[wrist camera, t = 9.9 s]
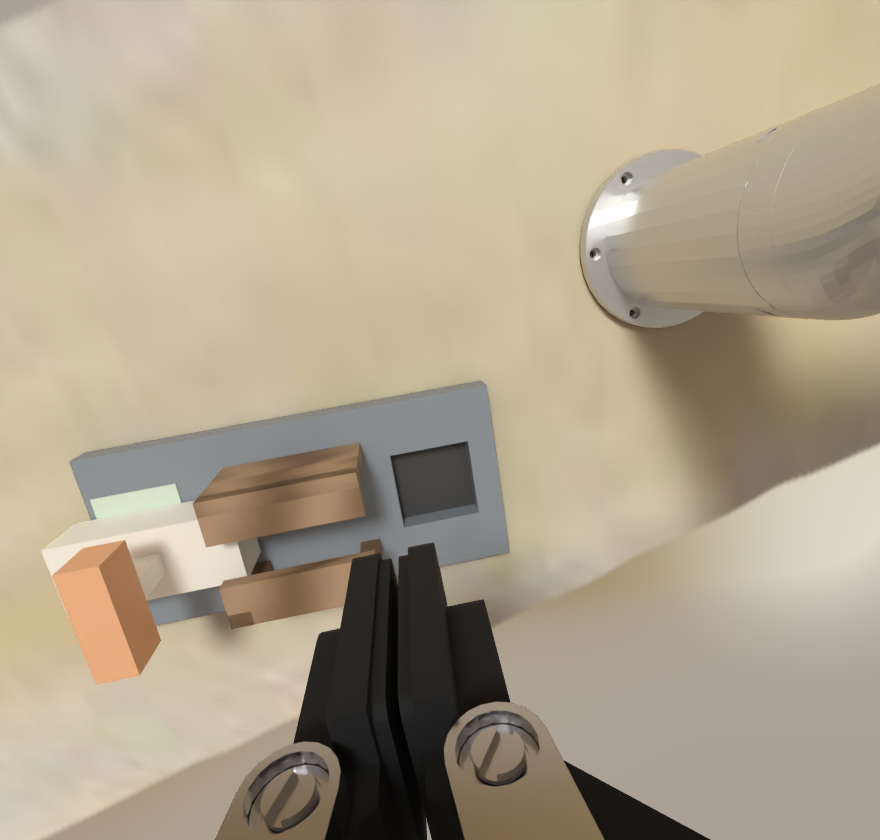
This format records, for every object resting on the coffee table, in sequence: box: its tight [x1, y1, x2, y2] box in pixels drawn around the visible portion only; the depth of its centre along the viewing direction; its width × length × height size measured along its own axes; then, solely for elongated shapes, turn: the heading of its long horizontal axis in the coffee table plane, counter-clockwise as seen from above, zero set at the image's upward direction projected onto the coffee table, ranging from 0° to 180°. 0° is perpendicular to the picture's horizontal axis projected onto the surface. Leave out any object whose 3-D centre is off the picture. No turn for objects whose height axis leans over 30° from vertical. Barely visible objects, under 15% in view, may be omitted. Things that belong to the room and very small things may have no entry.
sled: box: [41, 501, 261, 685], centre depth 33 cm, size 12×7×10 cm, turn 99°
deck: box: [69, 381, 510, 625], centre depth 40 cm, size 30×14×2 cm, turn 99°
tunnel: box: [193, 442, 382, 629], centre depth 36 cm, size 10×9×6 cm
